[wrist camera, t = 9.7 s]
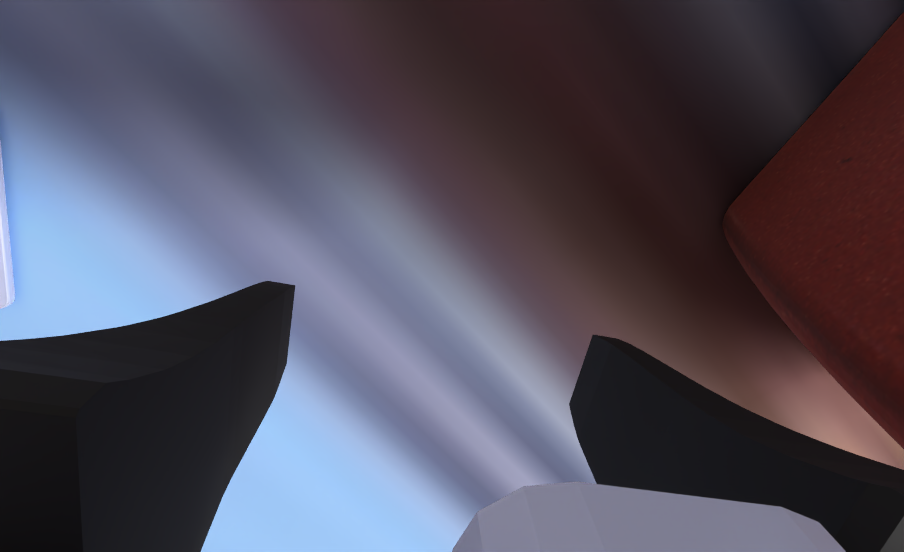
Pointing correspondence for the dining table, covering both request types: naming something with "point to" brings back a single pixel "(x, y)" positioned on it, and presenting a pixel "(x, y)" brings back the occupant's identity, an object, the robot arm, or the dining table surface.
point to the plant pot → (839, 232)
